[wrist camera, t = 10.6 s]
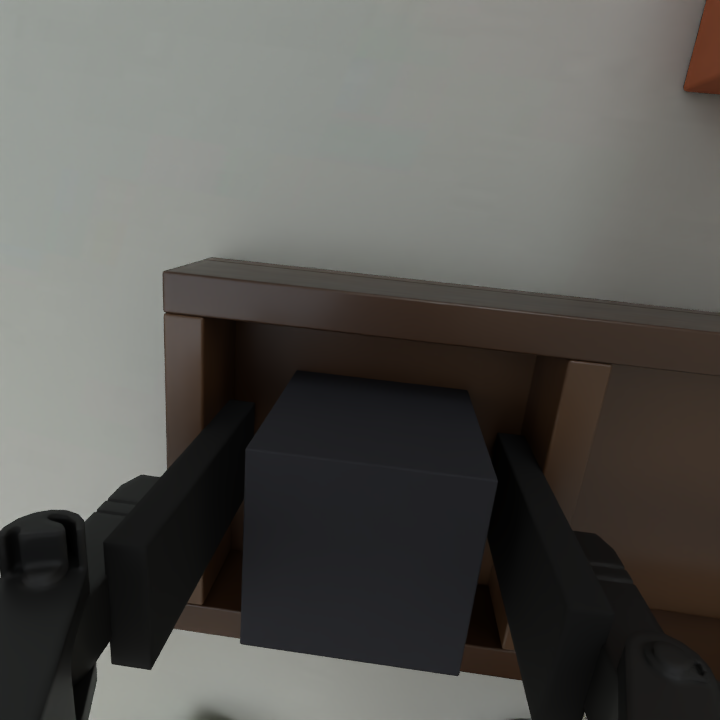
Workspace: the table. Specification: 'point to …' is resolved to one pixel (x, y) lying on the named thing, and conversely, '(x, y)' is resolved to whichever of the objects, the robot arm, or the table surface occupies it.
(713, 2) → the terracotta cube
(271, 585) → the charcoal block
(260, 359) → the brown wooden divided tray
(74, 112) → the table surface
